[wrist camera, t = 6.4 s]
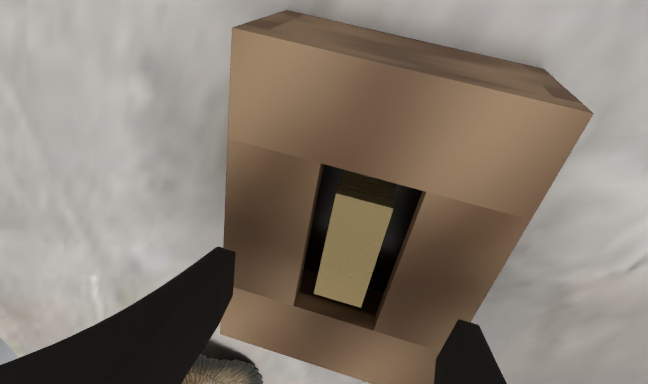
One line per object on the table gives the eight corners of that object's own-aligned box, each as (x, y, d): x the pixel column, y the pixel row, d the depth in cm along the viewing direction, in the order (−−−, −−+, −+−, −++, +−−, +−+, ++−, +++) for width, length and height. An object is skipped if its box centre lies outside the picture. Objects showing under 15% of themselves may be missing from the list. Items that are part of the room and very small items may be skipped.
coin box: (544, 68, 14) (593, 113, 10) (424, 316, 22) (424, 400, 17) (286, 10, 15) (232, 27, 11) (258, 265, 23) (220, 334, 18)
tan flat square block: (401, 148, 17) (393, 208, 13) (374, 234, 20) (360, 307, 15) (357, 137, 17) (336, 193, 13) (337, 224, 20) (313, 293, 16)
